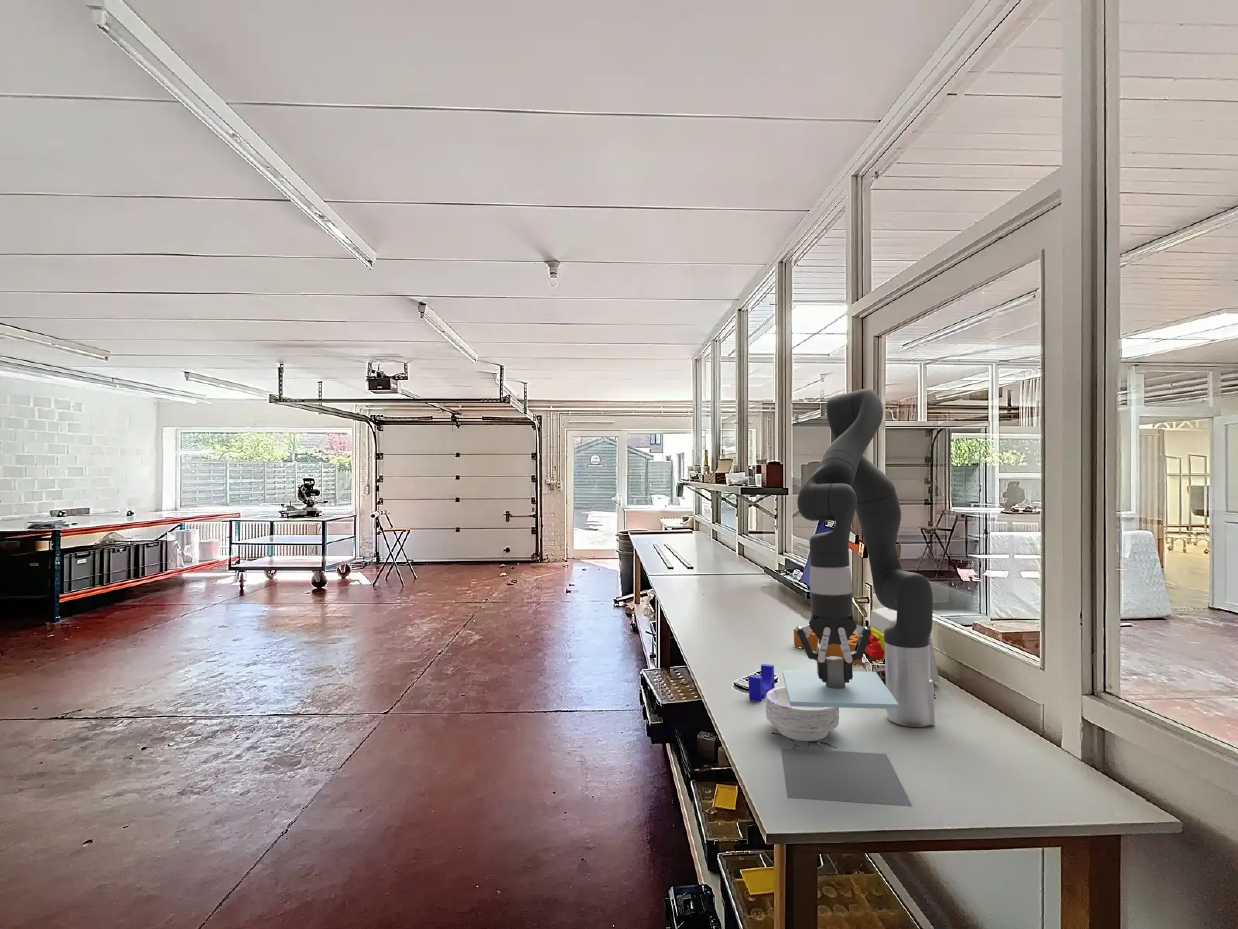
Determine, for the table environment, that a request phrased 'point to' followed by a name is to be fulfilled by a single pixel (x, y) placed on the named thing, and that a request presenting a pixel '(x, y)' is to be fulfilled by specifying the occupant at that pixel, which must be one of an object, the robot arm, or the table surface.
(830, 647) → the brick
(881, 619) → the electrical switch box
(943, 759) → the table surface
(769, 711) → the paper bowls
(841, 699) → the sheet
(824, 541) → the robot arm
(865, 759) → the mat
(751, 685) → the cable clip
